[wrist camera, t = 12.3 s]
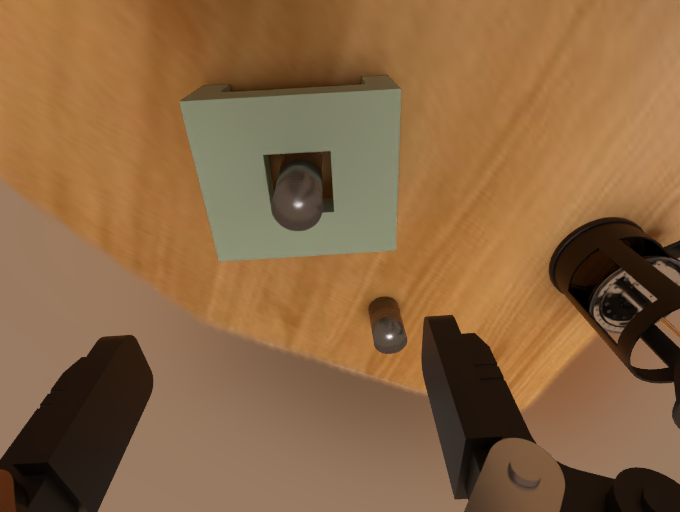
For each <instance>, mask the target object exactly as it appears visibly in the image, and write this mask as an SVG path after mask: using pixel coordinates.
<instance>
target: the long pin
mask: <svg viewBox="0 0 680 512" xmlns="http://www.w3.org/2000/svg"><path fill="white" fill-rule="evenodd" d="M271 209H272V214H273V216H274V218H275V220H276V221H277V222H278V223H279V224H280V225H281V226H282V227H284V228H286V229H288V230H292V231H304V230H308V229H310V228H312V227H313V226H315V225H316V224H317V223H318V222H319V220H320V218H321V216H322V212H323V194H322V154H321V152H304V153H287V154H284V155H283V159H282V163H281V167H280V171H279V175H278V179H277V183H276V188H275V192H274V196H273V200H272V205H271Z"/></svg>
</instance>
